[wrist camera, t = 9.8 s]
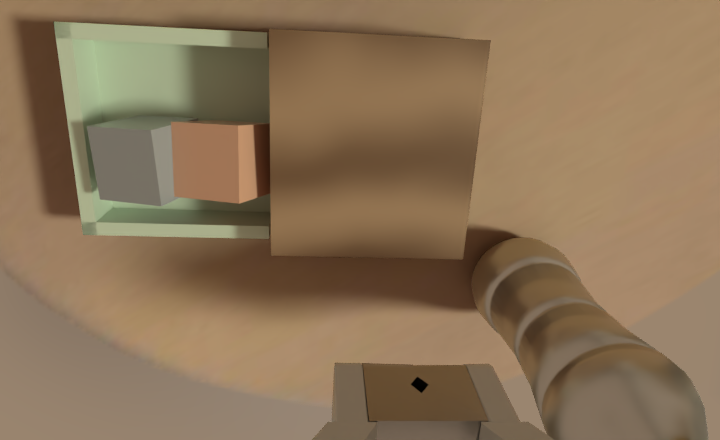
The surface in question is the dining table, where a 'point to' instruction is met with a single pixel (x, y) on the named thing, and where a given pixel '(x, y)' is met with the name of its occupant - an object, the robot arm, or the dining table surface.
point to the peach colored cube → (221, 160)
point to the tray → (162, 113)
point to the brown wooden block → (372, 143)
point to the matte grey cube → (134, 159)
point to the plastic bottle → (581, 352)
